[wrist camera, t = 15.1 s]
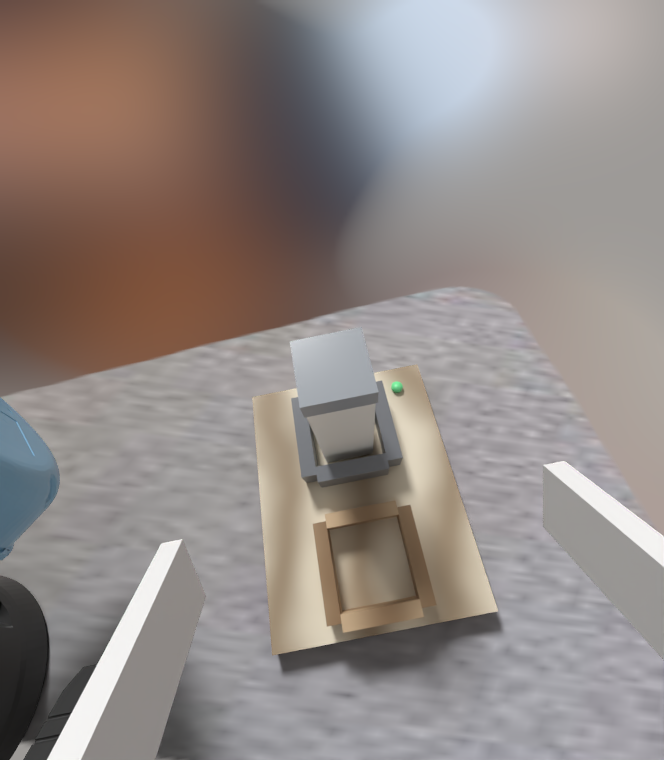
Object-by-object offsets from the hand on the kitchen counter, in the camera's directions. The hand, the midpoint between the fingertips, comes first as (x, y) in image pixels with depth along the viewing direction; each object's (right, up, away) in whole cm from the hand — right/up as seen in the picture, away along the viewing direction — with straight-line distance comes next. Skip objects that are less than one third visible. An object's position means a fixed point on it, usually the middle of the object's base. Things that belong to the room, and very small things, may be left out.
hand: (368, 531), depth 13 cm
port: (+1, +1, +18) cm, 18 cm away
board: (+1, -4, +17) cm, 18 cm away
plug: (0, +1, +18) cm, 18 cm away
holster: (+2, -8, +14) cm, 16 cm away
